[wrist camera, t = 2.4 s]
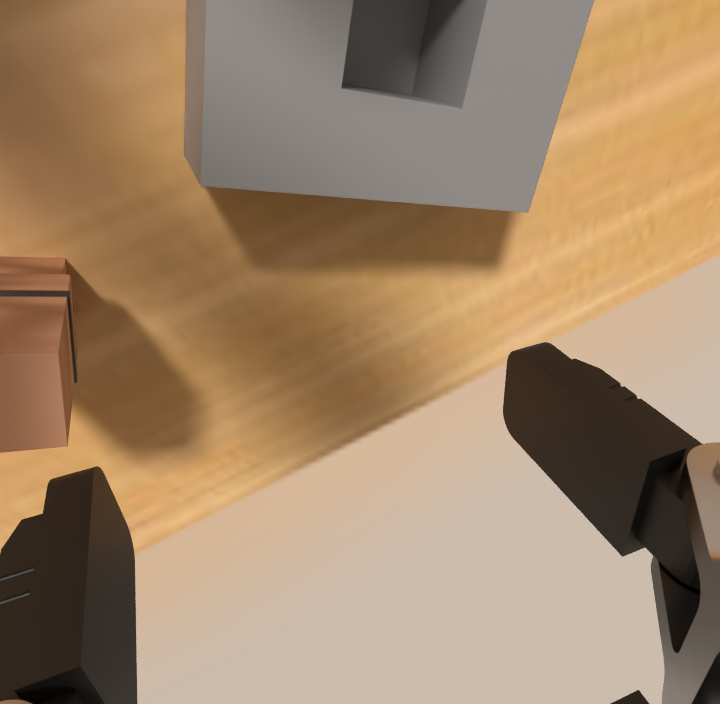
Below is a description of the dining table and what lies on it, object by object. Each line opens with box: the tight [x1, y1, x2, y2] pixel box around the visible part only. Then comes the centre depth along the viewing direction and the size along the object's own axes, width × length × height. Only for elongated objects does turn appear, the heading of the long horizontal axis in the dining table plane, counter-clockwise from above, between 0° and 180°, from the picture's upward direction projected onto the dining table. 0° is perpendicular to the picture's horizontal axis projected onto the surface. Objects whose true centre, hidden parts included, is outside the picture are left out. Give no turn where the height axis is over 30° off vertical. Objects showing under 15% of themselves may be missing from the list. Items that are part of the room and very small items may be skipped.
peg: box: [0, 257, 77, 453], centre depth 23 cm, size 4×4×10 cm
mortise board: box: [184, 0, 594, 213], centre depth 24 cm, size 16×14×6 cm
